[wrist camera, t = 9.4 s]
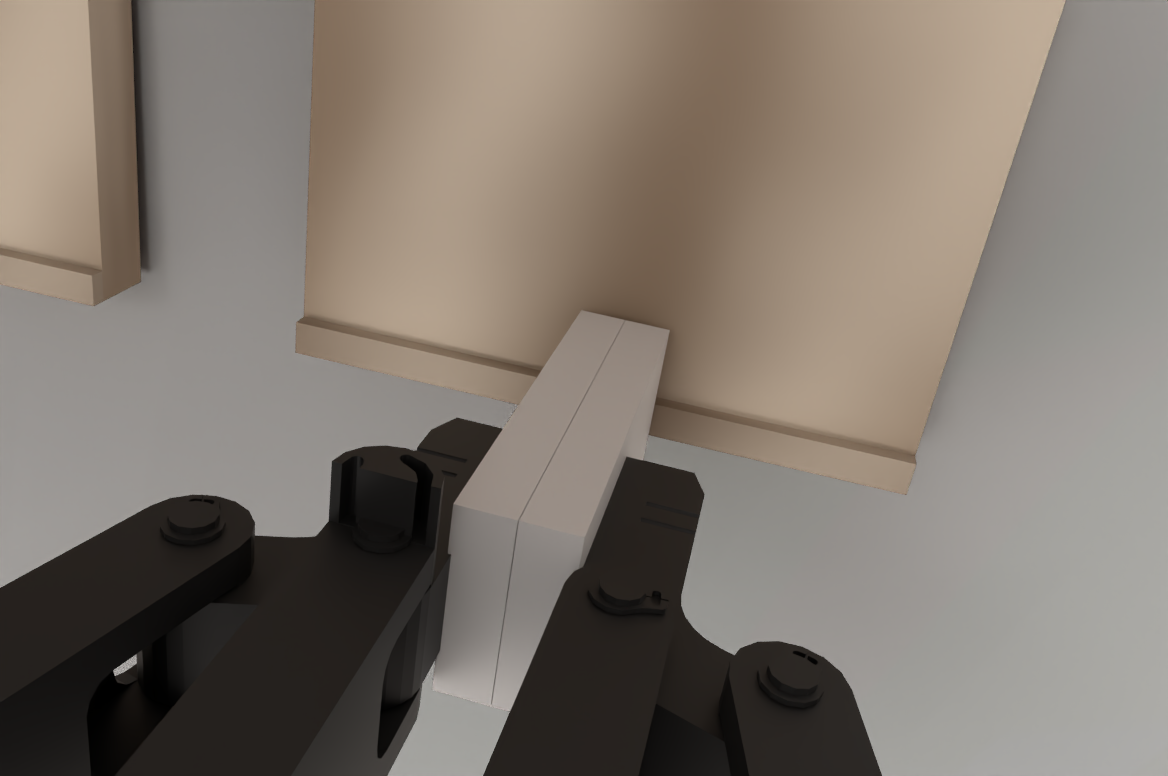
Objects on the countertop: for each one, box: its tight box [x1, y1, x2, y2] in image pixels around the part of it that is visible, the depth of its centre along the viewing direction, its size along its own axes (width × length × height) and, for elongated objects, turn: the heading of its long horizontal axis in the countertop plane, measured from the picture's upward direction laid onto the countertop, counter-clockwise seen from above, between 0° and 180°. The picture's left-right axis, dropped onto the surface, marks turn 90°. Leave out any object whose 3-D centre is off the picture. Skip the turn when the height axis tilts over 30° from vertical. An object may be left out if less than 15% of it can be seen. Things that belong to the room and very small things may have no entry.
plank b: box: [295, 0, 1066, 495], centre depth 17 cm, size 11×8×2 cm
